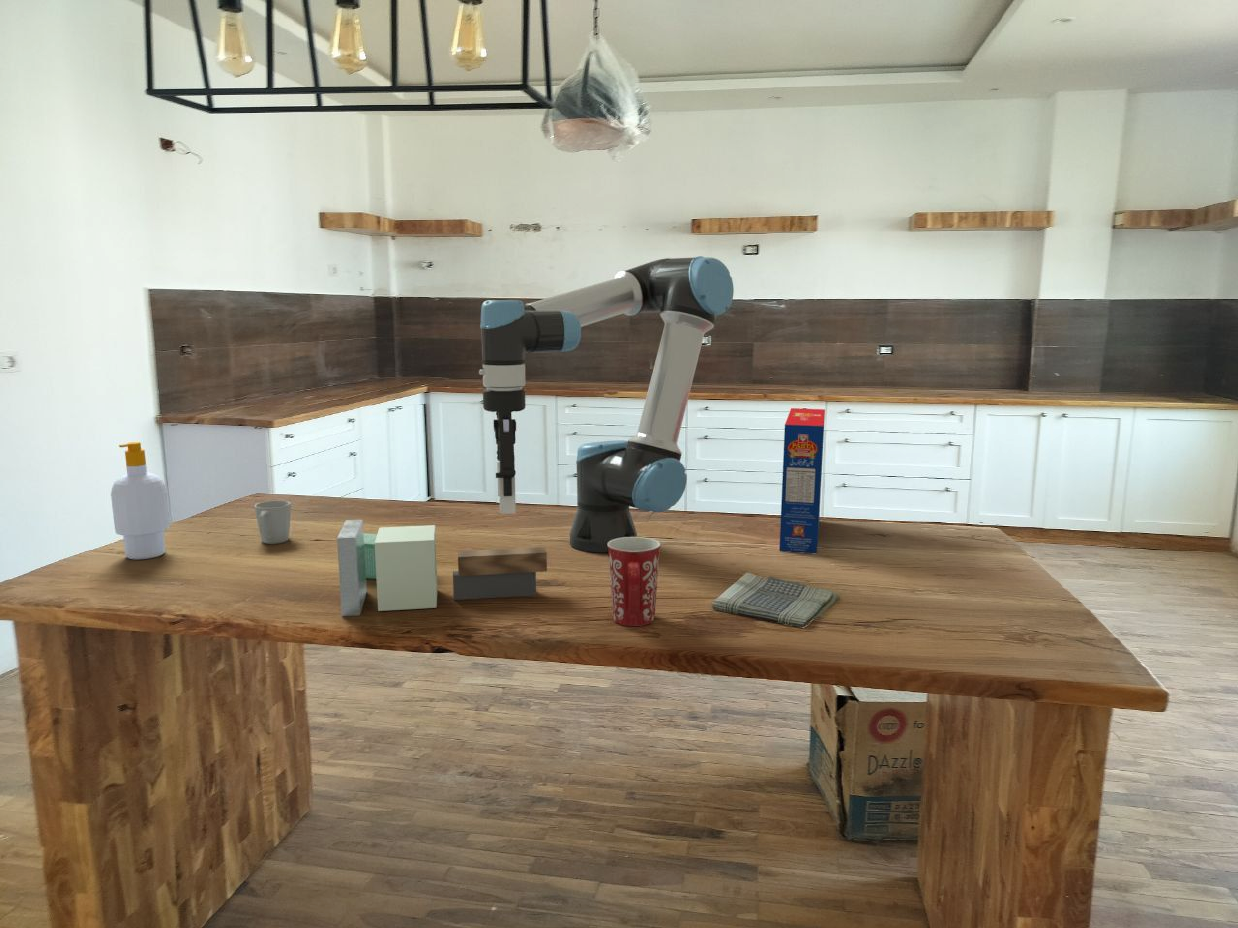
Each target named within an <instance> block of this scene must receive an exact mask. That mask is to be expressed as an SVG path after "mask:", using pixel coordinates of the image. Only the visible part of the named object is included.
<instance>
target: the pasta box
mask: <svg viewBox="0 0 1238 928" xmlns="http://www.w3.org/2000/svg"><path fill="white" fill-rule="evenodd" d="M825 416H826V409H823V408H797V407H795V408H794V407H793V408H792V407H791V408H790V411H789V413H788V415H787V418H786V421H785V423H784V435H783V437H784V438H783V459H782V460H783V461H782V462H783V463H782V480H781V481H782V482H781V486H782V487H781V503H780V504H781V505H780V507H781V508H780V524H779V525H780V530H779V532H780V533H779V552H786V551H791V552H790V553H799V552H804V553H803V554H812V553H817V554H818V546H817V545H818V543H819V530H820V517H821V516H820V513H821V512H820V510H821V496H822V495H821V494H822V492H821V491H822V475H823V474H822V473H823V458H824V457H823V456H824V439H825V436H824V435H825V420H826V419H825V418H826V417H825Z"/></svg>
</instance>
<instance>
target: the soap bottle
mask: <svg viewBox="0 0 1238 928" xmlns="http://www.w3.org/2000/svg"><path fill="white" fill-rule="evenodd" d="M118 447H119V448H127V450H125V451H124V456H125V464H126V465H125V466H126V467H125V468H126V474H124V475H122V476H120V477H119V478H117V479H116V480H115V481H114V482H113V484H112V487H111V493H110V497H111V507H112V514H113V525H114V530H115V533H116V535H119V536H123V537H122V538H123V546H124V556H125V557H126V558H127V559H130V560H147V559H153V558H154V559H155V558H157V557H160V556H163V554H165V553H166V539H165V531H167V530H169V528H170V527H171V518H170V510H169V509H170V508H169V499H168V492H167V487H166V485H165V482H164V481H163V480H162V479H161V477H160V476H159V475H157V474H154V473H152V472H148V470H147V468H148V467H147V461H146V451H145V449H143V448H142V444H141V442H140V441H134V442H133V441H132V442H127V443H124V444H119V445H118Z"/></svg>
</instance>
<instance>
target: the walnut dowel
mask: <svg viewBox="0 0 1238 928" xmlns="http://www.w3.org/2000/svg"><path fill="white" fill-rule="evenodd" d="M547 558H548V554H547V550H546V547H545V546H538V547H537V546H536V547H518V548H517V547H516V548H499V549H497V548H496V549H494V548H493V549H479V550H475V549H474V550H461V551H460V550H459V551H457V567H458V568H457V569H458V570H457V571H458V574H459V576H472V575H490V574H508V573H527V572H536V573H540V572H542V573H543V572H544V573H545V572H548V559H547Z"/></svg>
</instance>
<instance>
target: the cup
mask: <svg viewBox="0 0 1238 928" xmlns="http://www.w3.org/2000/svg"><path fill="white" fill-rule="evenodd" d="M291 505H292V503H291V502H290V501H289V500H282V499H278V500H277V499H275V500H266V501H262V502H261V501H260V502H257V503H255V504H254V512H255V516H256V522H257V527H258V531H259V534H260V539H261V542H262V543H263V544H267V545H276V544H278V545H279V544H282V543H286V542H287V541H289V539H290V531H291V529H290V528H291V509H292V506H291Z"/></svg>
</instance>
